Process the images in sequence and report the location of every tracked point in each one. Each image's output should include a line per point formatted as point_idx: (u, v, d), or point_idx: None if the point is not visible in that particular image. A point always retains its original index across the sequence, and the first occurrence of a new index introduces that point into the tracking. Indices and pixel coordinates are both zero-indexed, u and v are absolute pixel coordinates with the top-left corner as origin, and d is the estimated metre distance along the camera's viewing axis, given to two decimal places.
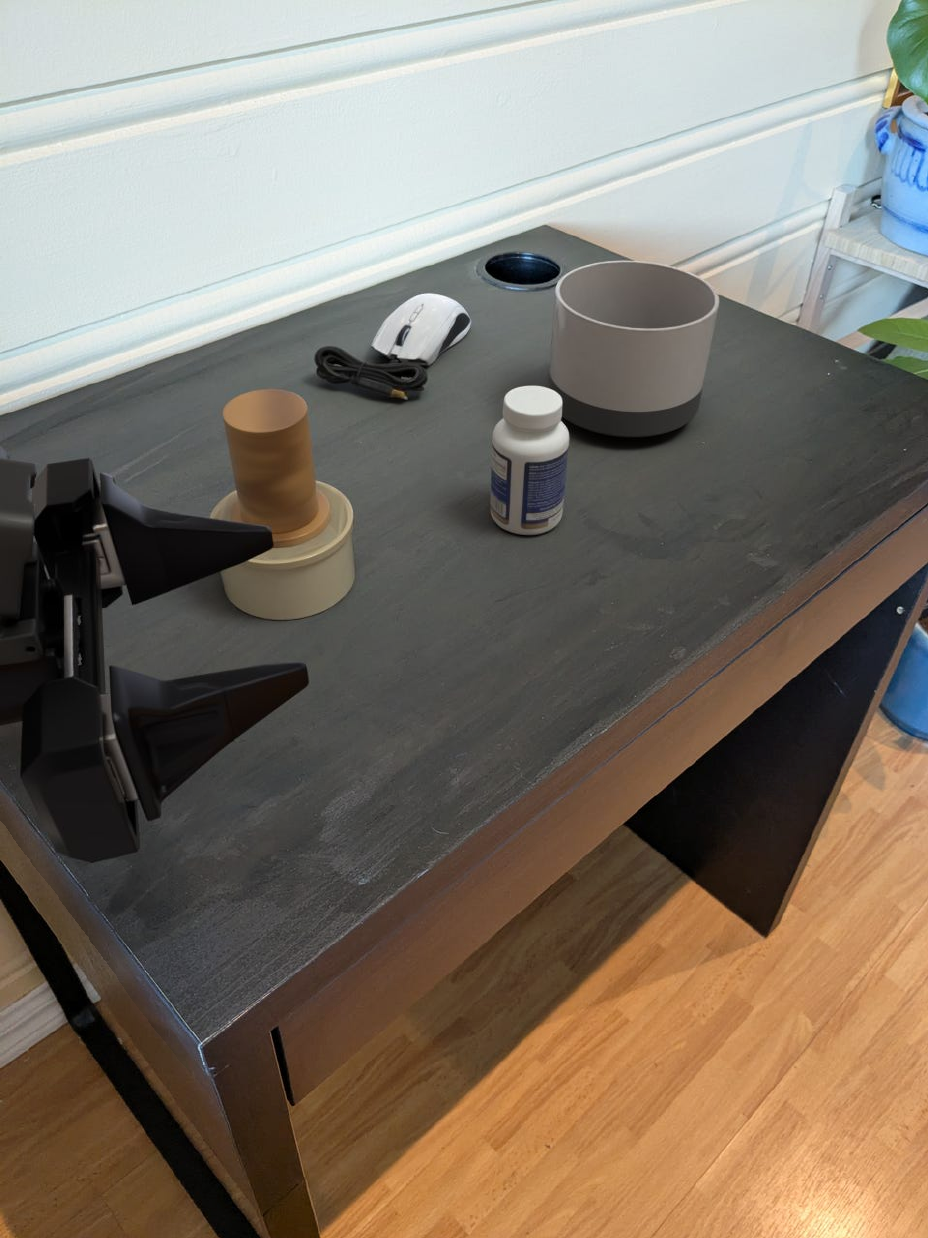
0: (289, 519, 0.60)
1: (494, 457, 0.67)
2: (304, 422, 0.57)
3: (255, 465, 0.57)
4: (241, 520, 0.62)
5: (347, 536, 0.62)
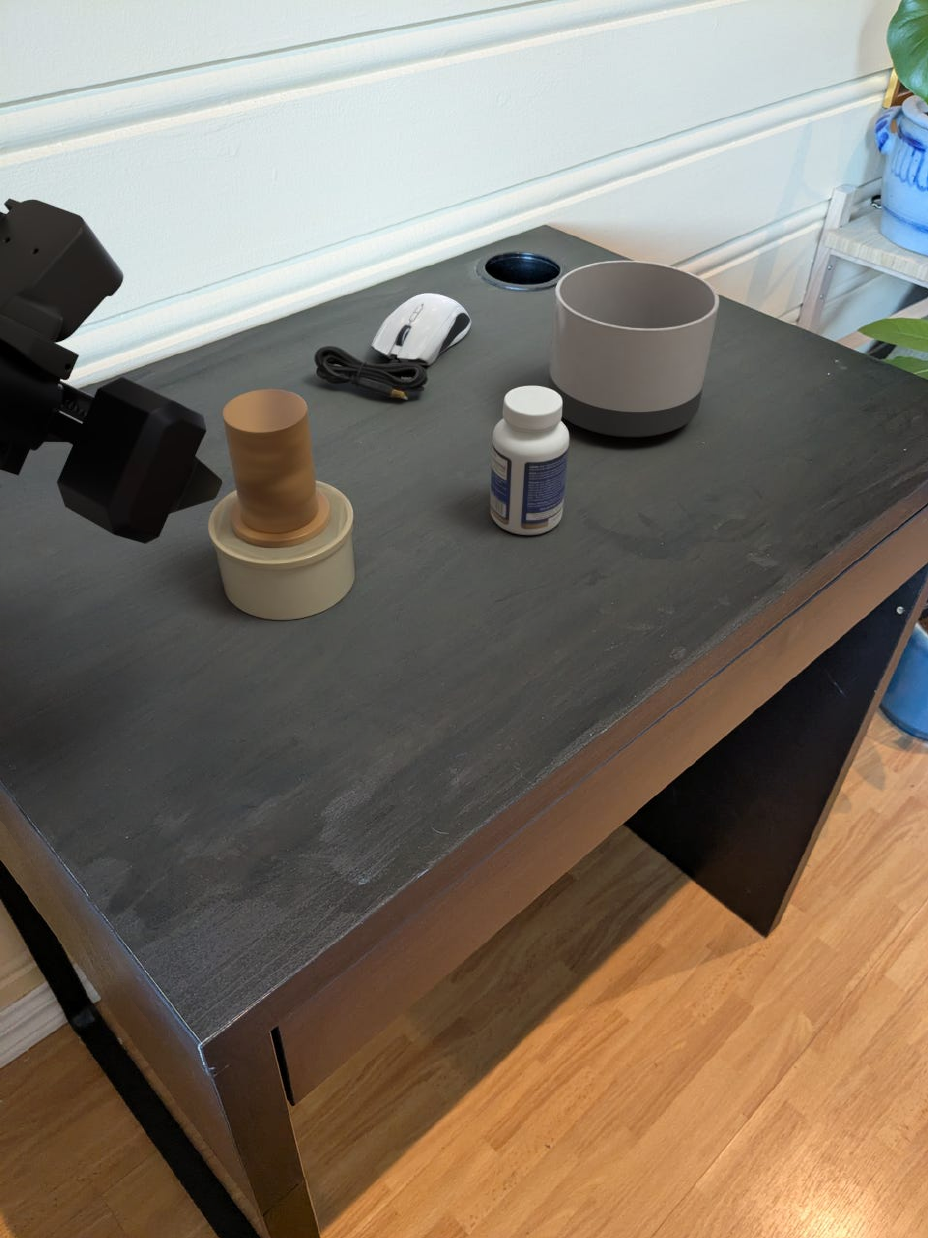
0: (289, 519, 0.60)
1: (494, 457, 0.67)
2: (304, 422, 0.57)
3: (255, 465, 0.57)
4: (241, 520, 0.62)
5: (347, 536, 0.62)
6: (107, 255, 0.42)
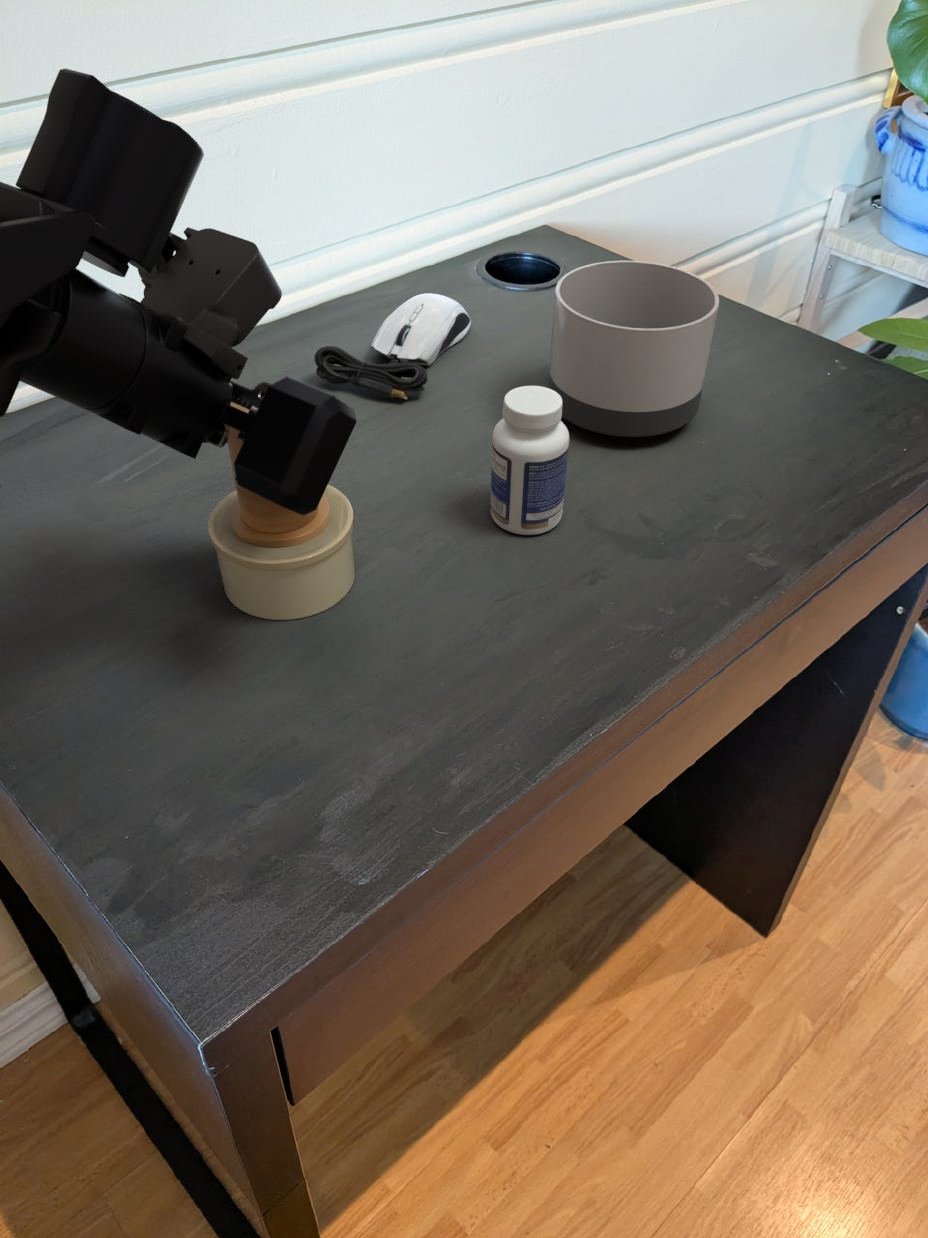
0: (289, 519, 0.60)
1: (494, 457, 0.67)
2: None
3: None
4: (241, 520, 0.62)
5: (347, 536, 0.62)
6: (272, 275, 0.50)
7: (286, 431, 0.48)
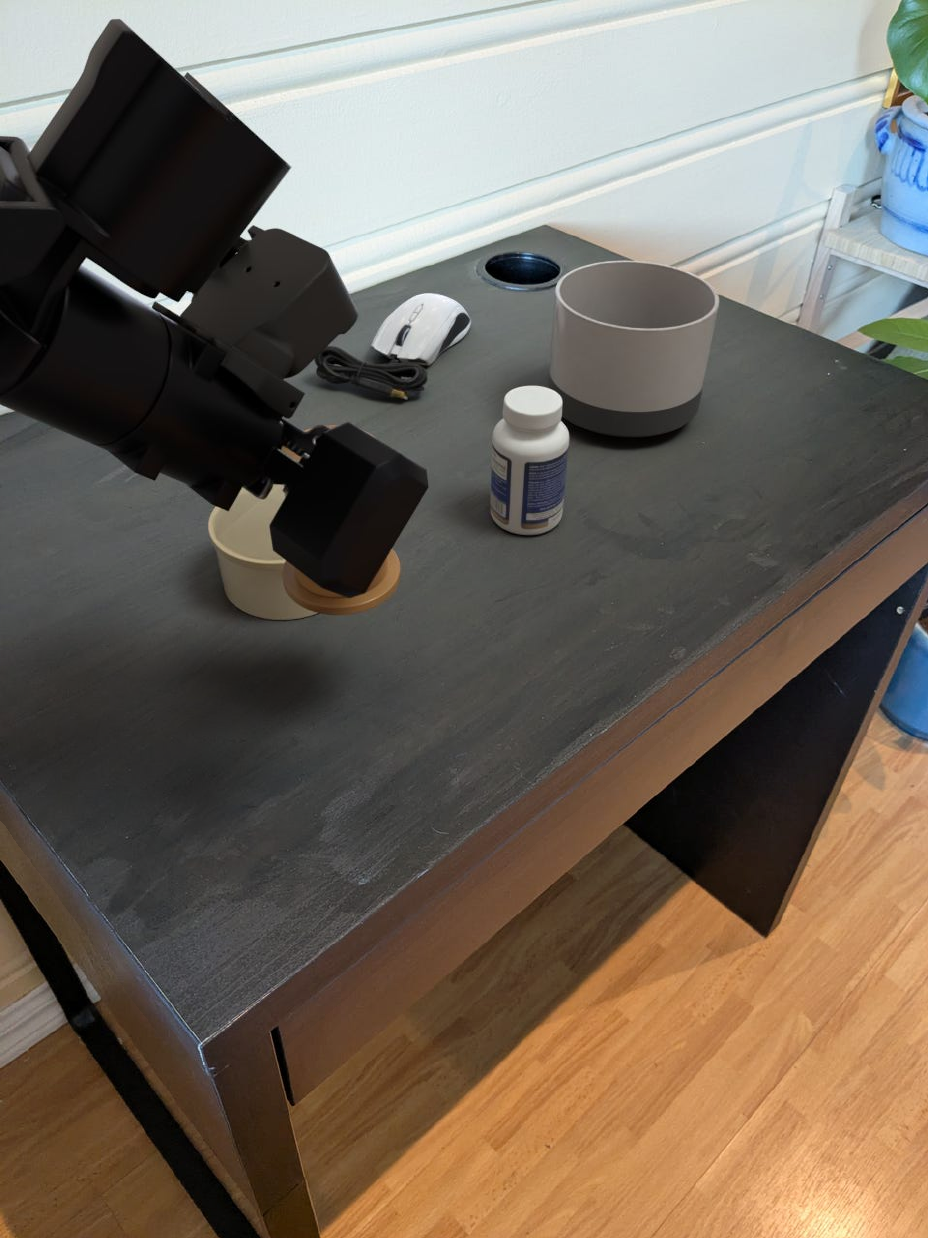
0: None
1: (494, 457, 0.67)
2: None
3: None
4: (294, 576, 0.52)
5: None
6: (346, 292, 0.40)
7: (335, 493, 0.38)
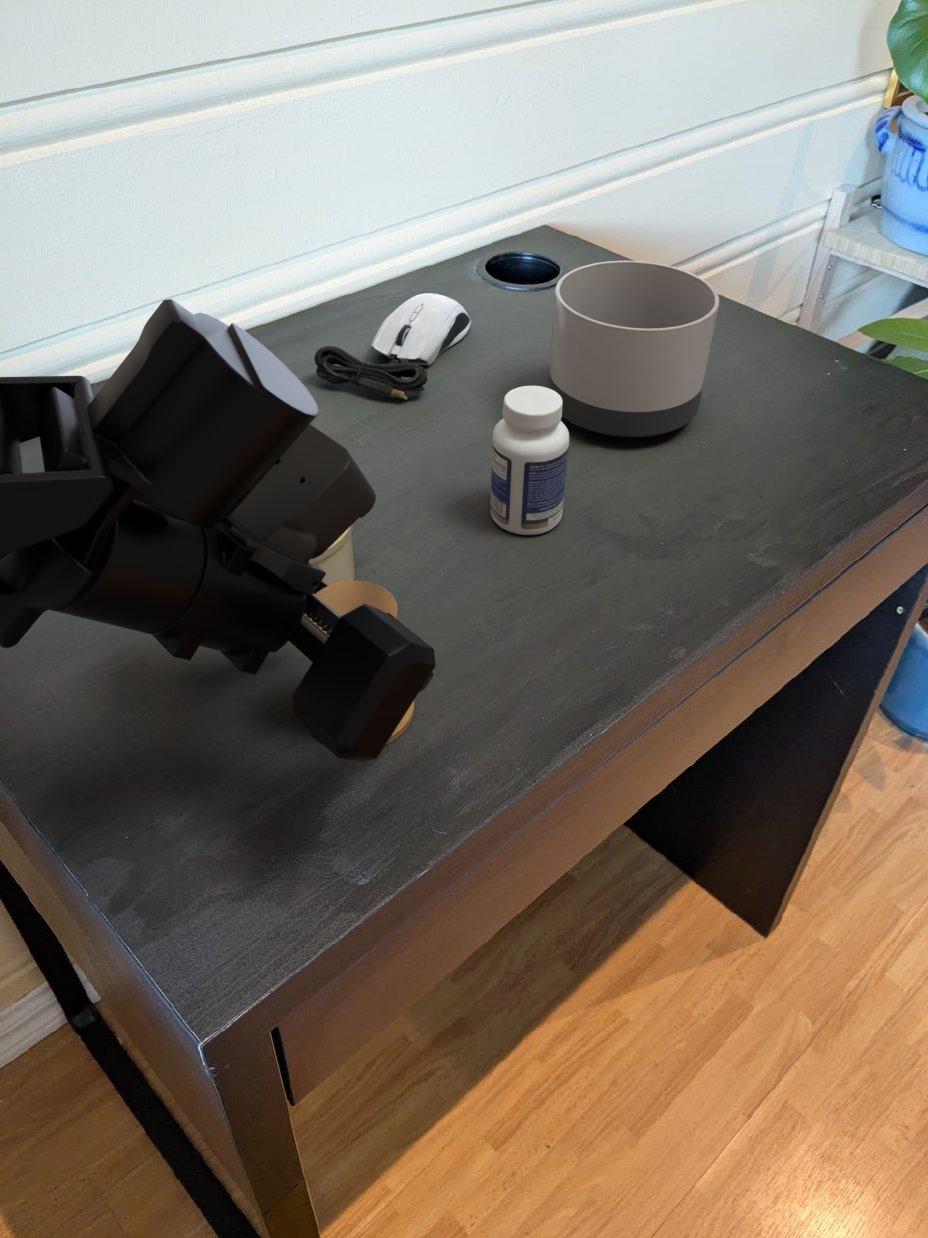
0: None
1: (494, 457, 0.67)
2: None
3: None
4: None
5: (347, 536, 0.62)
6: (365, 483, 0.44)
7: (351, 676, 0.42)
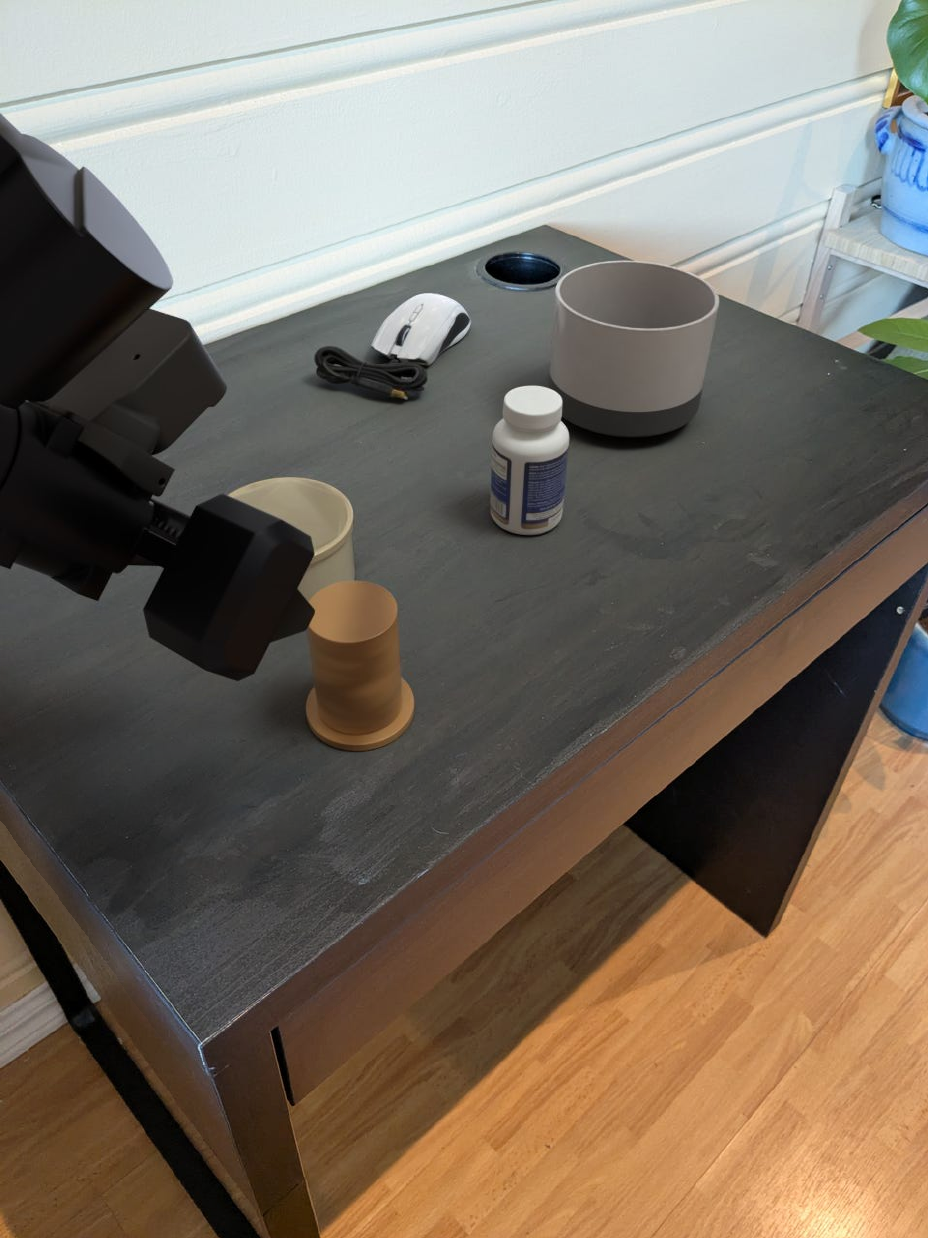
0: (365, 723, 0.54)
1: (494, 457, 0.67)
2: (391, 631, 0.51)
3: (332, 670, 0.52)
4: (316, 710, 0.56)
5: (347, 536, 0.62)
6: (212, 363, 0.38)
7: (213, 566, 0.35)
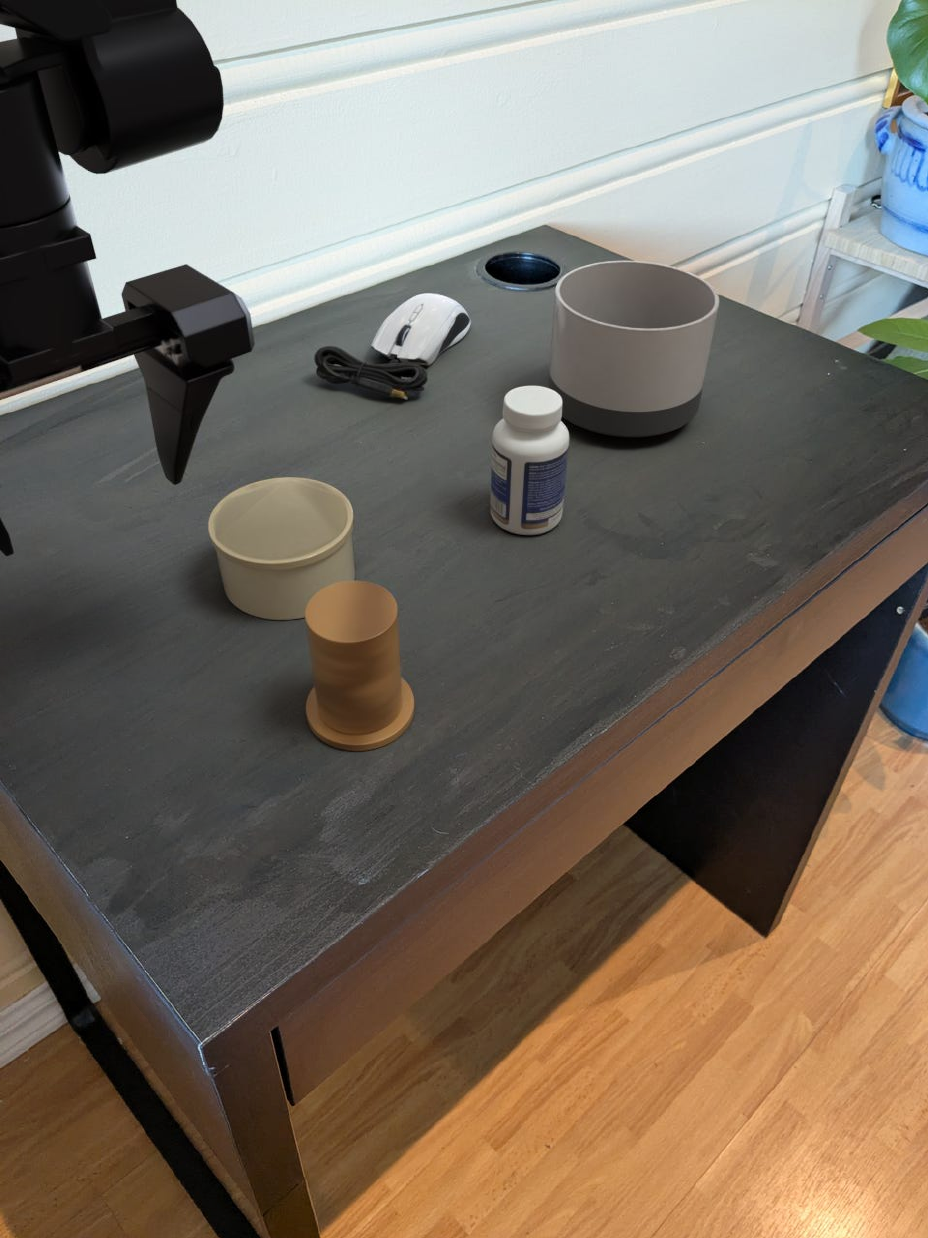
0: (365, 723, 0.54)
1: (494, 457, 0.67)
2: (391, 631, 0.51)
3: (332, 670, 0.52)
4: (316, 710, 0.56)
5: (347, 536, 0.62)
6: None
7: (185, 280, 0.47)
